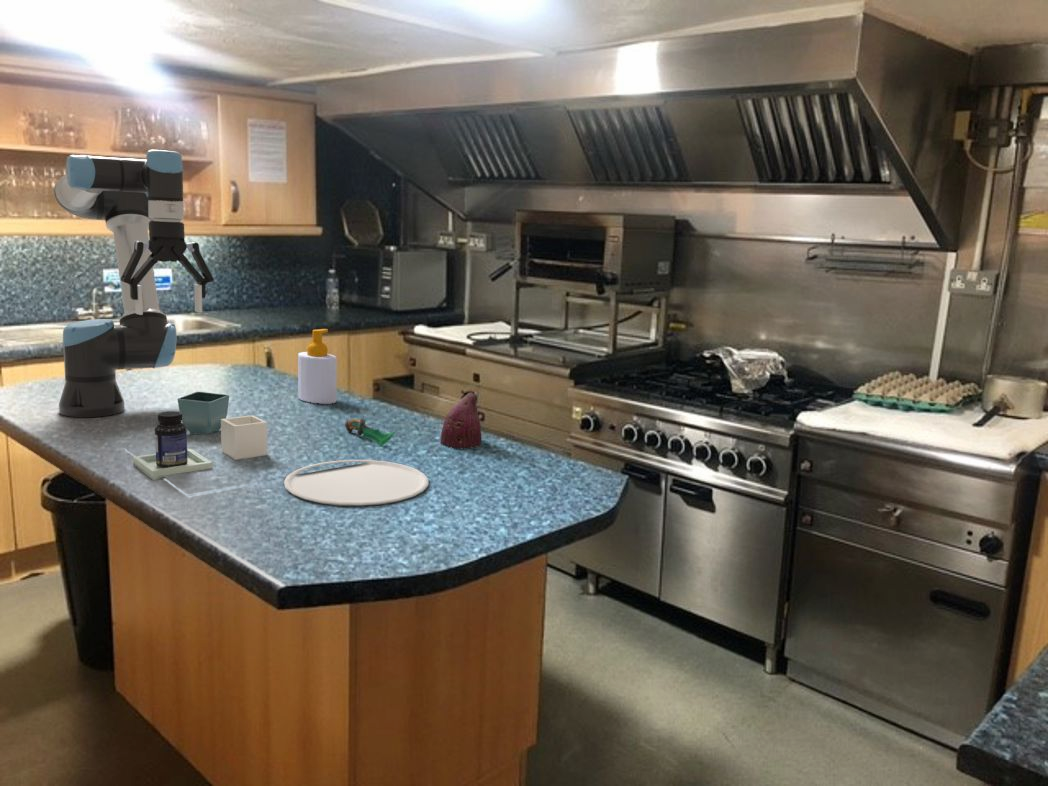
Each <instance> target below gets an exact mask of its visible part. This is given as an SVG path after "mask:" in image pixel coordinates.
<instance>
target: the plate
mask: <svg viewBox="0 0 1048 786" xmlns="http://www.w3.org/2000/svg"><path fill="white" fill-rule="evenodd" d="M354 462H355V463H356V462H357V463H356V464H350V465H345V466H338V467H334V468H328V469H322V470H317V471H311V472H304V473H300V472H303V471H305V470H308V469H310V468H311V469H312V468H315V467H319V466H323V465H329V464H337V463H354ZM359 462H360V463H359ZM299 473H300V474H299ZM283 485H284V488H285V490H286V491H287V492H289V493H291V494H292V495H293V496H295V497H297V498H300V499H302V500H306V501H310V502H314V503H318V504H323V505H333V506H346V507H347V506H348V507H349V506H350V507H351V506H352V507H353V506H354V507H363V506H365V507H367V506H376V505H377V506H378V505H384V504H385V505H386V504H391V503H397V502H400V501H404V500H407V499H411V498H414V497H415V496H417V495H419V494H421V493H423V492H424V491H425V490H426V489H427V488H428V487H429V478H428V477H427V476H426V474H425V473H423V472H422V471H421V470H418V469H417V468H415V467H411V466H408V465H405V464H401V463H396V462H392V461H384V460H383V461H382V460H377V459H376V460H374V459H344V460H343V459H341V460H333V461H325V462H323V461H322V462H319V463H314V464H311V465H306V466H303V467H301V468H298V469H296V470H294V471H292V472H291V473H290V474H288V475H286V477H285V479H284V480H283Z"/></svg>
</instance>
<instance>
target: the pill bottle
mask: <svg viewBox="0 0 1048 786" xmlns="http://www.w3.org/2000/svg"><path fill="white" fill-rule="evenodd" d="M157 420H158V423H159V424H157V425H156V426H155V428H154V442H155V449H154V450H155V454H156V465H157V466H158V467H162V468H168V467H175V466H182V465H186V464H187V461H188V460H187V449H188V442H187V439H188V437H187V429H186V426H185V425H184V424H183V422H182V413H181V412H180V411H176V410H170V411H161V412H158V414H157Z"/></svg>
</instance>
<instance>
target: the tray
mask: <svg viewBox="0 0 1048 786" xmlns="http://www.w3.org/2000/svg"><path fill="white" fill-rule="evenodd" d="M187 460H188V461H187V464H186V465H182V466H175V467H168V468H162V467H158V466H157V465H156V453H151V454H143V455H137V456H132V462H133V463H132V464H133V466H134V467H135V466H136V467H135V468H137V469H138V470H139V471H141V472H142V473H143V474H144V475H146V476H147V477H148V478H149V479H151V480H152V481H156V480H162V479H166V477H165V476H171V475H176V474H177V475H178V474H184V473H191V472H196V471H203V470H209V469H213V462H212V461H211V460H209V459H207V458H206V457H205V456H203V455H201V454H199V453H198V452H197V451H195V450H194V449H192V448H187Z"/></svg>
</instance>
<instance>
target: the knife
mask: <svg viewBox="0 0 1048 786" xmlns="http://www.w3.org/2000/svg"><path fill="white" fill-rule="evenodd" d="M344 427H345V429H346V431H347V432H348V433H352V432H353V431H354V430H356V431H357V436H362V437H361V438H362V439H363V438H364V439H370V440H372V441H375V442H376V443H377V444H378V445H379V446H381V447H382V446H384V445H385V444H387V443H389V441H390V440H391V438H392V437H393V435H394V434H395V433H396V431H392V432H389V433H383V432H381V431H380V430H379V428H378V429H376V428H372V427H369V426H368V425H366V421H365V418H361V419H357V418H356V419H355V418H353V419H349V420H346V421H345V423H344Z"/></svg>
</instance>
